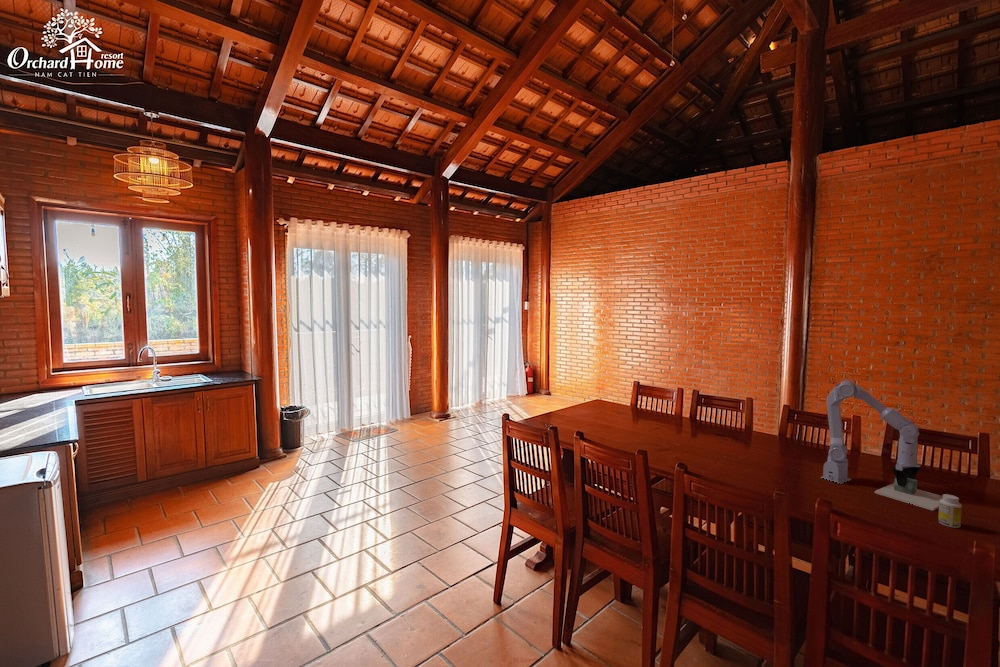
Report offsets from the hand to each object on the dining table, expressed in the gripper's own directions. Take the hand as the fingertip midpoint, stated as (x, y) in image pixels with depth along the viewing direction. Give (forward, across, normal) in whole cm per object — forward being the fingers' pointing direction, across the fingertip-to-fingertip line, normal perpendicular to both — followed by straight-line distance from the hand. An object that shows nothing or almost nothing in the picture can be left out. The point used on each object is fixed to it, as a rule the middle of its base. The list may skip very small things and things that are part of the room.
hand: (905, 484), depth 182 cm
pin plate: (+4, -2, -3) cm, 5 cm away
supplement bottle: (+4, -20, -19) cm, 28 cm away
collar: (+3, 0, 0) cm, 3 cm away
